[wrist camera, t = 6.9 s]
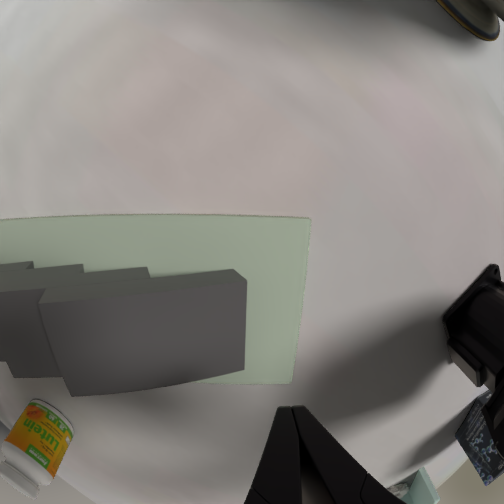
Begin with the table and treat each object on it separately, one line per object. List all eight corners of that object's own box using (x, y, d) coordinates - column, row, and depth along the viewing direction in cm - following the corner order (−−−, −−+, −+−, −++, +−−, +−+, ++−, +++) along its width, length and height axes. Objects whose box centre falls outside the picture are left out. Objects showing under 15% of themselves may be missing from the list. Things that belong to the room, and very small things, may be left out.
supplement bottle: (78, 422, 17) (42, 500, 8) (72, 441, 18) (43, 508, 9) (31, 388, 16) (-16, 458, 7) (30, 413, 17) (-6, 473, 8)
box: (475, 397, 20) (519, 453, 10) (502, 380, 20) (545, 427, 10) (452, 436, 22) (485, 488, 12) (480, 420, 22) (513, 465, 12)
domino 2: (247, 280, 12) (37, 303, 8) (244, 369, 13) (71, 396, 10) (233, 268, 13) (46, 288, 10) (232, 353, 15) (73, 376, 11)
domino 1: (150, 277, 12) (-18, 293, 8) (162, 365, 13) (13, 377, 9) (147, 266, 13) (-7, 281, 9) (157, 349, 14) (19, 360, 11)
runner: (308, 217, 13) (311, 219, 13) (290, 378, 16) (291, 383, 16) (-55, 224, 12) (-59, 226, 11) (-32, 325, 14) (-35, 328, 14)
